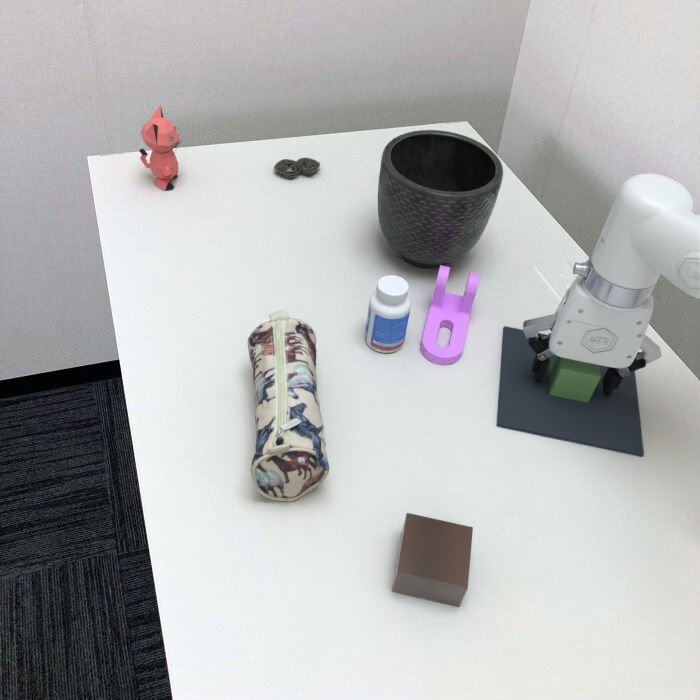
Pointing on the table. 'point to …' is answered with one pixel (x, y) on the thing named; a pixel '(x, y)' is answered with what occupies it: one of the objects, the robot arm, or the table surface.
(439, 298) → the bracket
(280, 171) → the corroded twin loop
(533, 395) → the mat
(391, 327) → the pill bottle
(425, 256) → the planter
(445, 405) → the table surface
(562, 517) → the table surface
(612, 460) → the table surface
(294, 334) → the pencil case
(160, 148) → the cat figurine
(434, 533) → the walnut base block
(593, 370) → the green cube
